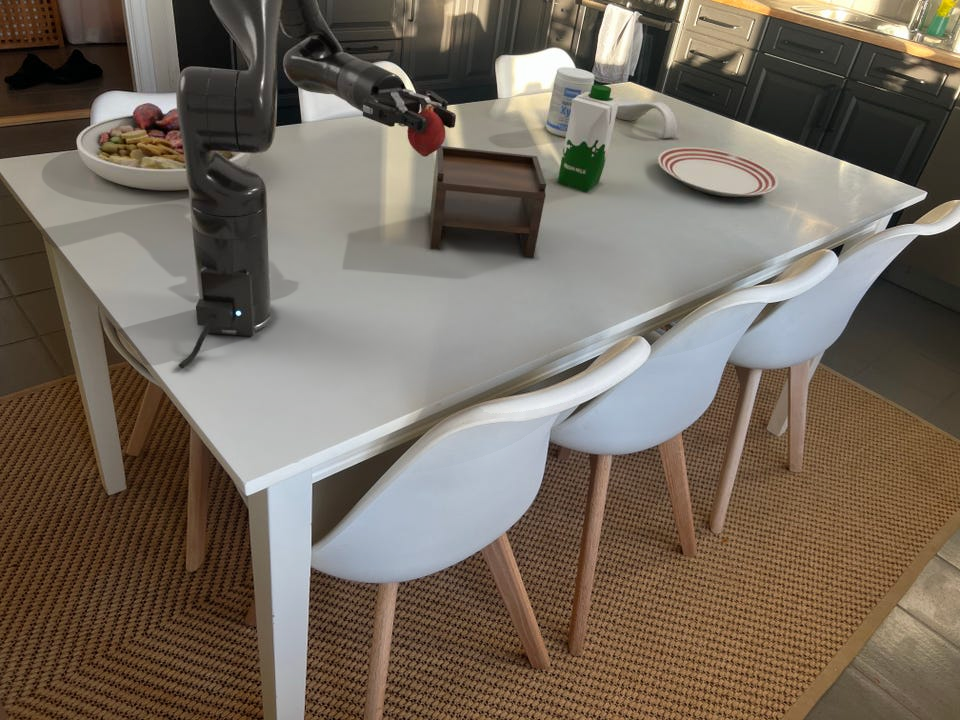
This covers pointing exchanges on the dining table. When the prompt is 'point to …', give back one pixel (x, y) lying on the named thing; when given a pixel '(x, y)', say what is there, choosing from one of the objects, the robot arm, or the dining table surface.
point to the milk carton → (588, 138)
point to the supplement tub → (566, 97)
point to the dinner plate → (717, 172)
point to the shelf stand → (487, 194)
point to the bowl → (141, 150)
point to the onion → (428, 133)
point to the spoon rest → (637, 109)
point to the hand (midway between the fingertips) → (439, 123)
